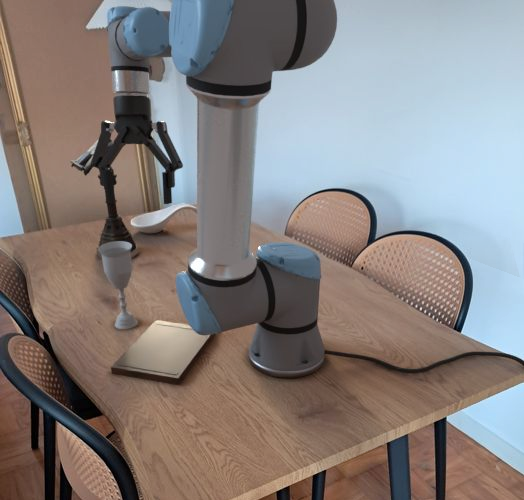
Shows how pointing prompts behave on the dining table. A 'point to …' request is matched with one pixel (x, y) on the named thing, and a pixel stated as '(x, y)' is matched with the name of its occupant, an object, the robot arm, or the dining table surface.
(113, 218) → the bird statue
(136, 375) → the serving board
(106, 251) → the chalice
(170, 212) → the spoon rest
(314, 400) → the dining table surface
